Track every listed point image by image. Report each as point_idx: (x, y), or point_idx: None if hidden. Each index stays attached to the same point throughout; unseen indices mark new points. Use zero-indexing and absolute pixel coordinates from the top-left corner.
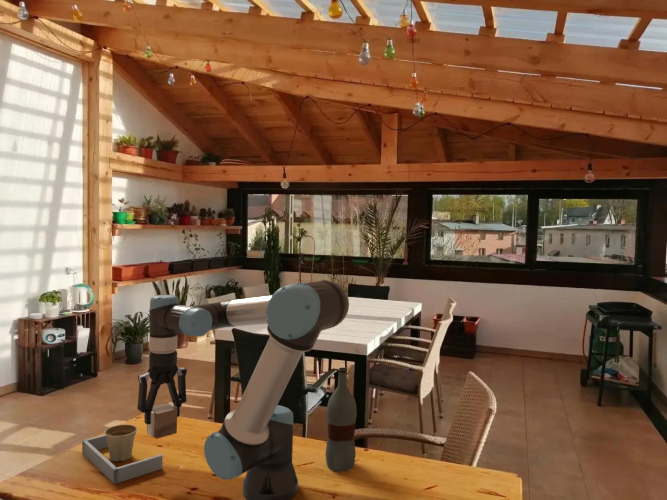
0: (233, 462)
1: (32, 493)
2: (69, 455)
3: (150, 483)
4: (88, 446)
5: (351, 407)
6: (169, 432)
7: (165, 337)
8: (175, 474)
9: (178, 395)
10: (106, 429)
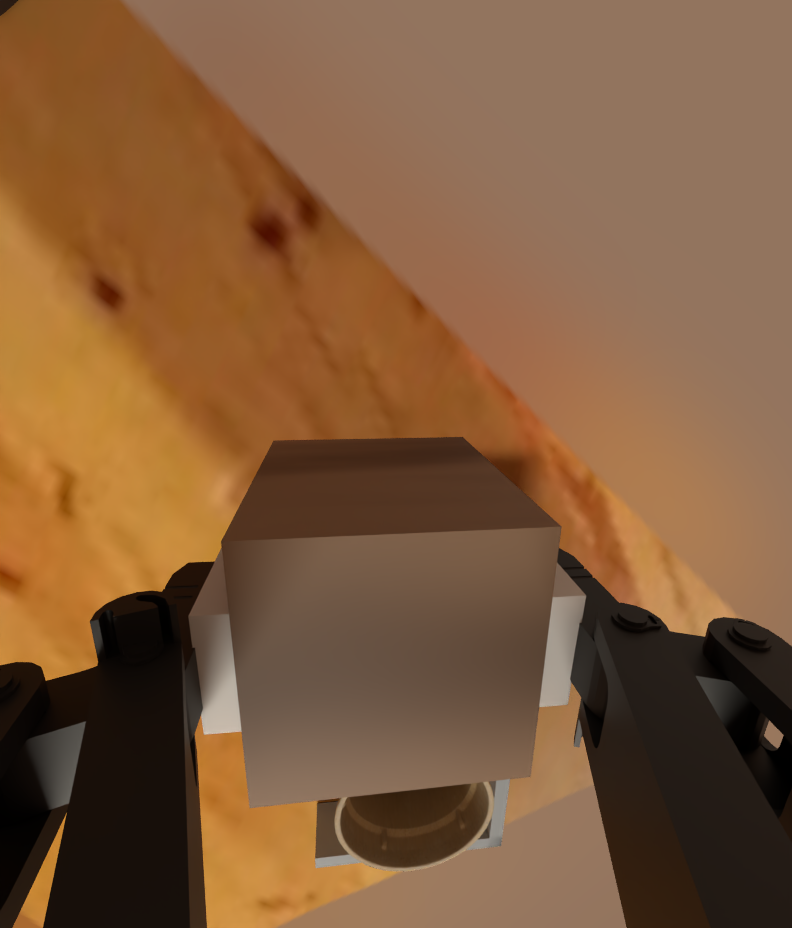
0: None
1: (724, 613)
2: (523, 796)
3: (407, 426)
4: (507, 791)
5: None
6: (345, 446)
7: None
8: (281, 431)
9: (32, 880)
10: (465, 849)
